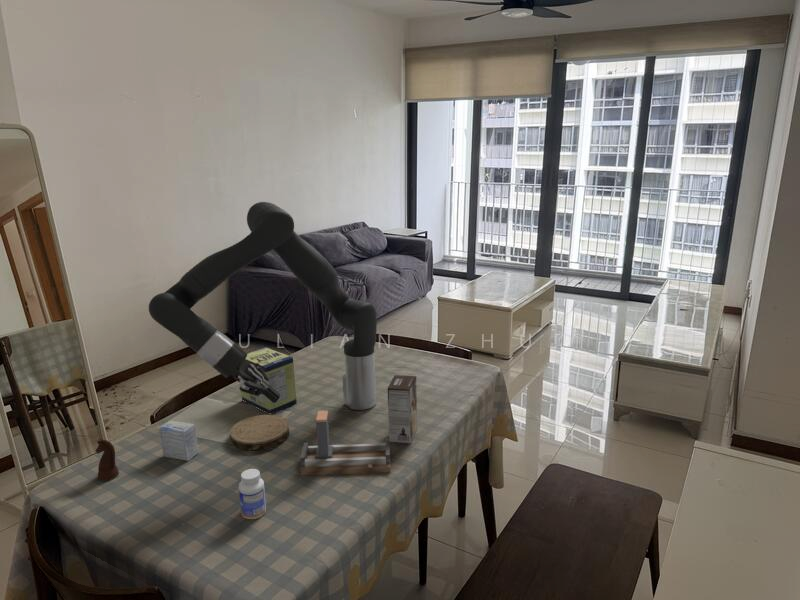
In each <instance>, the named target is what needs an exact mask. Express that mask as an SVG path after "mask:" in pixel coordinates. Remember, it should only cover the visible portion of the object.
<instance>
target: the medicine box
mask: <svg viewBox="0 0 800 600" xmlns="http://www.w3.org/2000/svg"><path fill="white" fill-rule="evenodd" d="M195 427H196V426H195V424H193V423H188V422H182V421H178V420H177V421H176V420H169V421H168V422H166V423H164V424H163V425H162V426H160V427H159V433H160V434H159V435H160V441H161V447H162V455H163V457H165V458H170V459H175V460H180V461H187V462H189V461H190V460H192V459H193V458H194V457H195V456H196V455H198V454H199V446H198V439H197V432H196V428H195Z"/></svg>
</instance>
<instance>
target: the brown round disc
mask: <svg viewBox="0 0 800 600" xmlns="http://www.w3.org/2000/svg"><path fill="white" fill-rule="evenodd" d="M289 424H290V423H289V421H288V420H287V419H286V418H284V417H283V416H279V415H276V414H275V415H274V414H260V415H254V416H253V415H252V416H250V417H246V418H244V419H241V420H239V421H238V422H236V423H235V424H234V425H233V426H232V427H231V428H230V432H229V436H230V443H231V445H232V447H234V448H235V449H237V450H238V451H242V452H249V453H250V452H251V453H252V452H253V453H254V452H255V453H256V452H263V451H265V452H266V451H269V450H271V449H275V448H276V447H278V446H281V445H282V444H283V443H285V442H287V440H288V438H289V436H290V426H289Z"/></svg>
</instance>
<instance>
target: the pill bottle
mask: <svg viewBox="0 0 800 600" xmlns="http://www.w3.org/2000/svg"><path fill="white" fill-rule="evenodd" d="M240 480H241V481H240V482H239V484H238V493H239V496H238V497H239V503H240V504H239V505H240V513H241V516H242V517H243V518H244V519H247V520H256V519H259V518H261V517H262V516H263V515H264V514H265V513H266V511H267V503H266V501H267V500H266V491H265V482H264V479H262V478H261V473H260V470H259V469H258V468H257V469H256V468H250V469H245V470H244V471H242V473H241V474H240Z"/></svg>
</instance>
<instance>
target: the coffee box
mask: <svg viewBox="0 0 800 600" xmlns="http://www.w3.org/2000/svg"><path fill="white" fill-rule="evenodd" d="M417 397H418V396H417V376H416V375H398V374H395V375H393V378H392V379H391V381H390V383H389V385H388V387H387V413H388V414H387V415H388V440H389V441H390V443H400V444H401V443H402V444H411V443H413V440H414V437H415V434H416V431H417V429H418V408H417V406H418V405H417V404H418V403H417V402H418V401H417Z"/></svg>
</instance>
